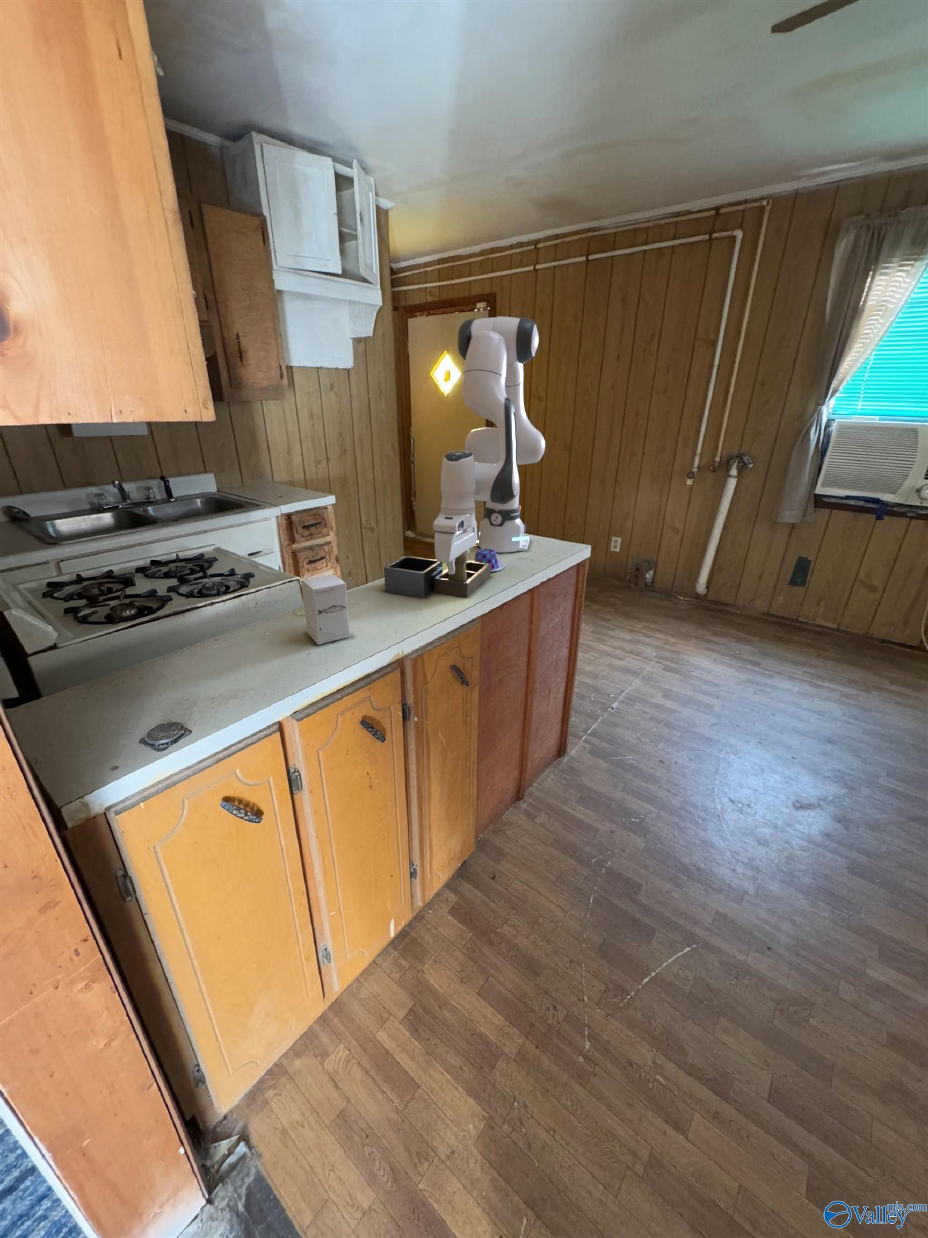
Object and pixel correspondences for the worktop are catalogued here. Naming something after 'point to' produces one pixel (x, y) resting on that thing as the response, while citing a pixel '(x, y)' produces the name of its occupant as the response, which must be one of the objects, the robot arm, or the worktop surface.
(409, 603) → the worktop surface
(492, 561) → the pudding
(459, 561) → the cork
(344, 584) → the white packaging box
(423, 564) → the grey open box
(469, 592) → the divided tray
